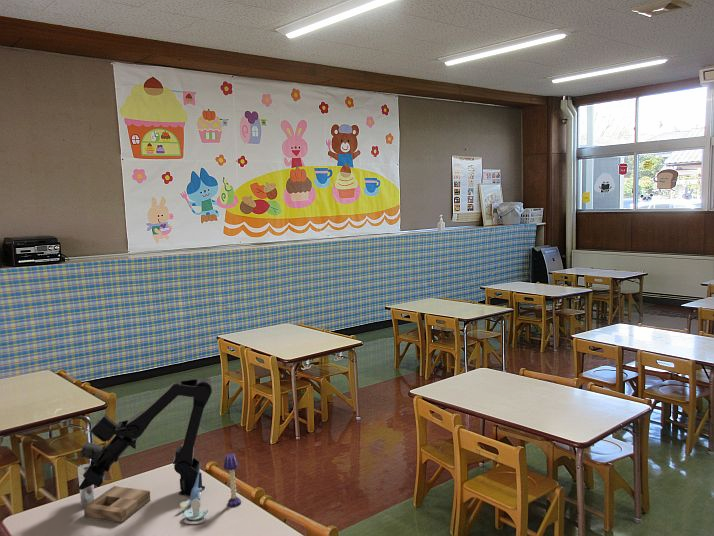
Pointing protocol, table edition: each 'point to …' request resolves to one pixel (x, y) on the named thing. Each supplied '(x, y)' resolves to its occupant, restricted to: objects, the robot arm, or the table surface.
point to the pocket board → (117, 504)
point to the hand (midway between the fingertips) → (81, 485)
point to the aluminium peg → (88, 492)
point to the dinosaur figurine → (192, 494)
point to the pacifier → (195, 513)
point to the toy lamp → (232, 478)
